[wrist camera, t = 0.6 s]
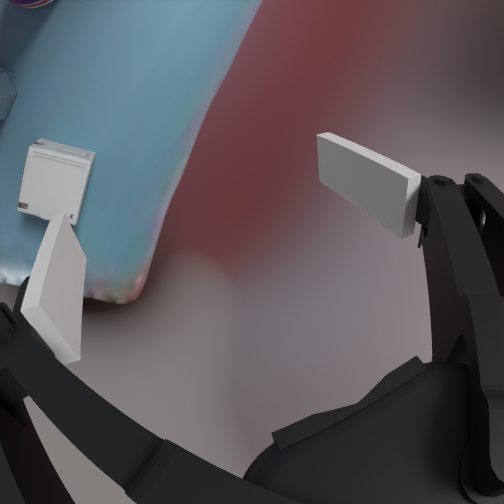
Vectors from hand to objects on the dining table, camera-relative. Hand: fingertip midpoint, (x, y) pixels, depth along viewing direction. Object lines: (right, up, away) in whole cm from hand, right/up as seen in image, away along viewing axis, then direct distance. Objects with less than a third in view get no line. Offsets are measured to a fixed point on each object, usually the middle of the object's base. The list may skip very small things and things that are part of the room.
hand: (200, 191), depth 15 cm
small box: (-21, +7, +18) cm, 28 cm away
